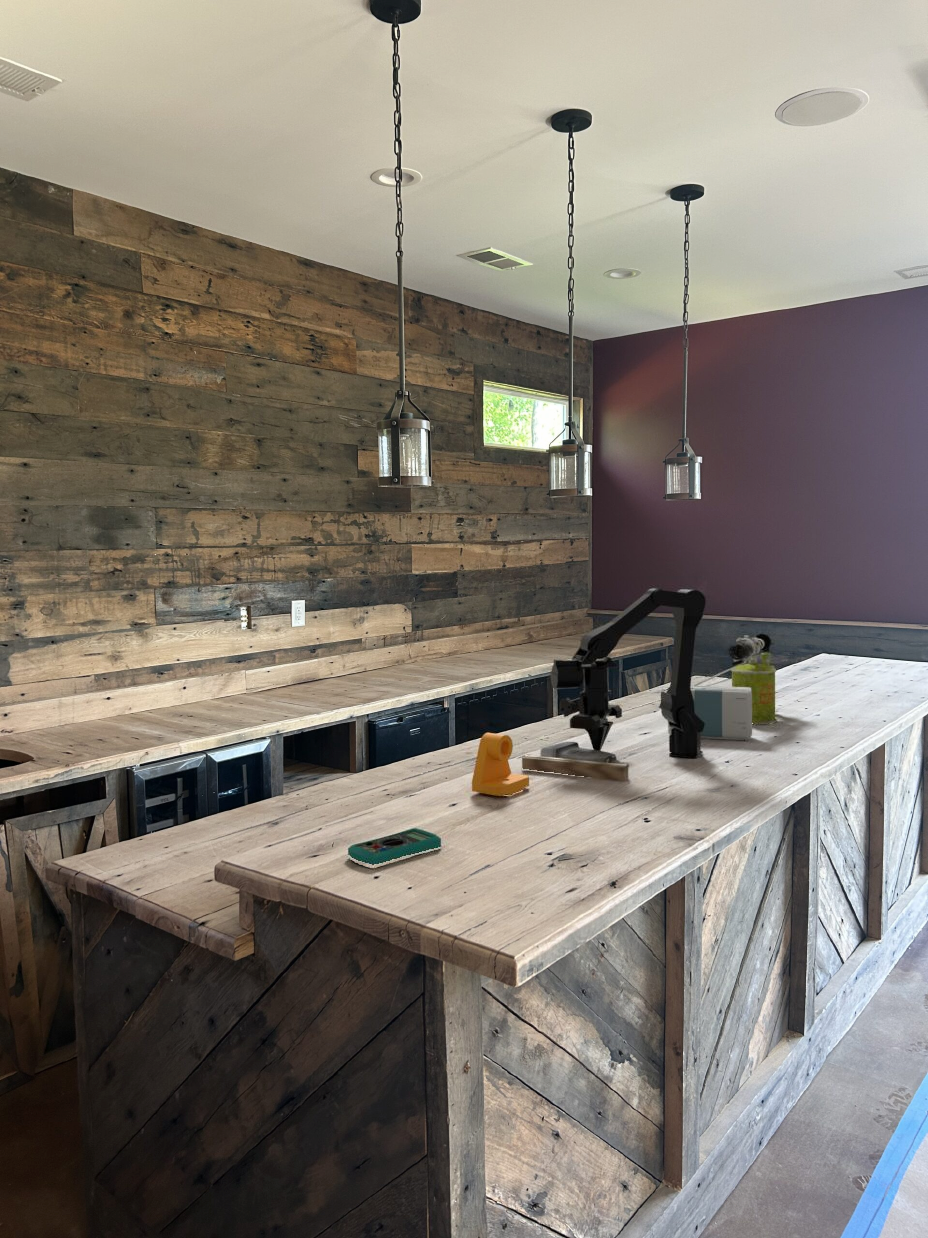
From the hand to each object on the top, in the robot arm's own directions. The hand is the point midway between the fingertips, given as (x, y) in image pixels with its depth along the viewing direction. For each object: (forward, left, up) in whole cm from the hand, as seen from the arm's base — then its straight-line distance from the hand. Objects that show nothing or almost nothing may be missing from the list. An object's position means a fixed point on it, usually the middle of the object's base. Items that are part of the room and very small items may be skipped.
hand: (597, 752), depth 213 cm
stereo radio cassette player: (-17, -37, -2) cm, 41 cm away
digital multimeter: (+6, +76, -3) cm, 76 cm away
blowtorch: (-22, -65, -2) cm, 69 cm away
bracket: (+8, +34, -2) cm, 35 cm away
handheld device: (+1, +5, -2) cm, 6 cm away
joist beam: (0, +14, -2) cm, 14 cm away
